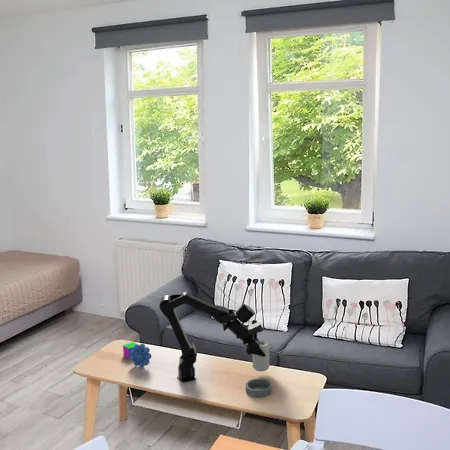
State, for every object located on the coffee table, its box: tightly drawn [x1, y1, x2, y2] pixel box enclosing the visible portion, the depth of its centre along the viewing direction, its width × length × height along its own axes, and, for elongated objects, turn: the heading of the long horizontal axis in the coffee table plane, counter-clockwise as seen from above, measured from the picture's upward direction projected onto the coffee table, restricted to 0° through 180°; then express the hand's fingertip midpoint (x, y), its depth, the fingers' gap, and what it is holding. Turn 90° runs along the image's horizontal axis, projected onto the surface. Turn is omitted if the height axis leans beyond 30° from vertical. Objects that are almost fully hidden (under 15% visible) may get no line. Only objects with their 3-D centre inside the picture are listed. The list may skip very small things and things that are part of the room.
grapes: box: [129, 343, 152, 369], centre depth 263 cm, size 12×7×12 cm, turn 64°
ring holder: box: [245, 378, 273, 398], centre depth 238 cm, size 11×11×3 cm
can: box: [252, 340, 270, 372], centre depth 251 cm, size 8×8×12 cm
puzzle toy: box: [122, 341, 137, 360], centre depth 276 cm, size 6×6×6 cm
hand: (264, 352), depth 251 cm, fingers closed on can, 7 cm apart
